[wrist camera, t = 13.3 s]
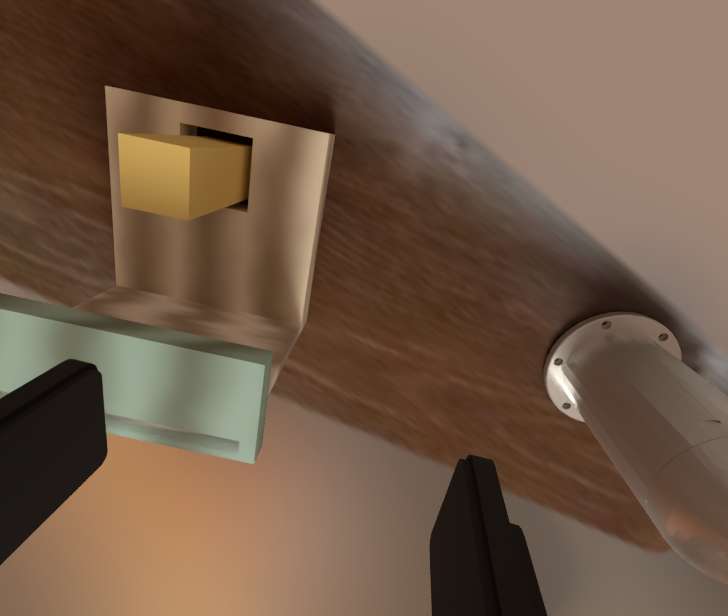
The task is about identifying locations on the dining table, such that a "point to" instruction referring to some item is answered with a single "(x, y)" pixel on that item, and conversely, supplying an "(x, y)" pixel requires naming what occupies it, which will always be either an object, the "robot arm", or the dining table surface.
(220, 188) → the peg
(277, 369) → the green-topped stand
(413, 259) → the dining table surface
